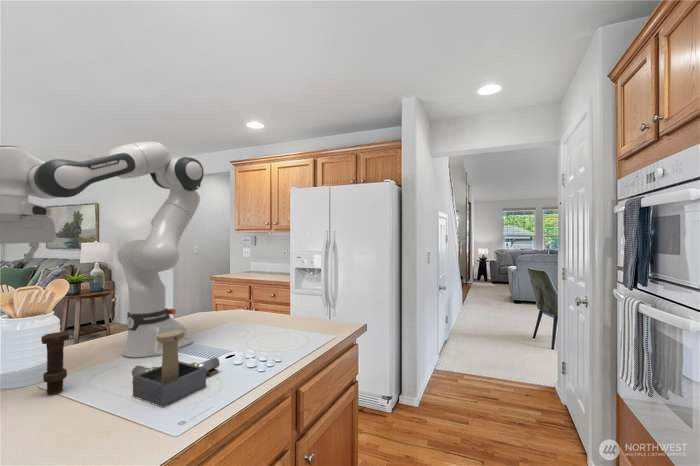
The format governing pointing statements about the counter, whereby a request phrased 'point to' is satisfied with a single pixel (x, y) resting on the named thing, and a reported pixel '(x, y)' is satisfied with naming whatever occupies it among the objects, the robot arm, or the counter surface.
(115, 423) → the counter surface
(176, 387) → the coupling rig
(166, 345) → the handle
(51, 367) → the bolt
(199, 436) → the counter surface
